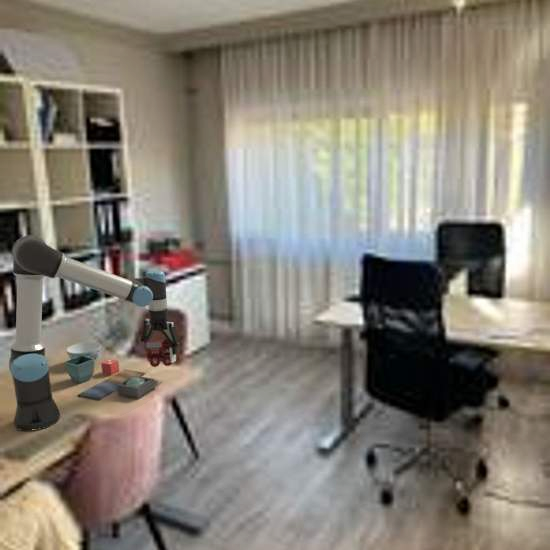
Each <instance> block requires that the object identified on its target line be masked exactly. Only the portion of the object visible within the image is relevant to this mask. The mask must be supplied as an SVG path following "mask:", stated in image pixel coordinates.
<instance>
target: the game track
mask: <svg viewBox="0 0 550 550" xmlns="http://www.w3.org/2000/svg"><path fill="white" fill-rule="evenodd" d="M144 374H145V375H146V372H144V371H136V370H132V369H131V370H130V369H124V370H121V371H119V372H117V373H115V374H114V375H112V376H110V377H108V378H106V379H104V380H103V381H101V382H99V383H97V384H95V385H93V386H91V387H89V388H87V389H86V390H84V391H82V392H80V393H78V394H77V397H80V396H83V397H82V398H85V397H86V398H87V399H91V400H97V401H100V400H103V399H105V398H106V397H108V396H110V395H112V394H113V393H115V392H116V391H117V392H118V390H117V384H119V383H121V382H123V381H125V380H126V379H128V378H130V377H132V376H140V377H143V376H145V375H144ZM142 375H143V376H142Z"/></svg>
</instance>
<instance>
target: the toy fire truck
mask: <svg viewBox="0 0 550 550" xmlns="http://www.w3.org/2000/svg"><path fill="white" fill-rule="evenodd" d="M144 347H146V348H147V351H146V358H147V361H148V362H149V364H150V365H149V366H151V367H154V368H156V367H159V365H161V362H162V364H163V366H165V367H169V366H171V365H172V364H173V363H171V360H170V347H171V345H170V344H169V342H168V340H167V338H165V339H164V340H162V339H154V340H153V339H151V341H146V342H145V343H144ZM177 359H178V353H177V354H176V360H177Z"/></svg>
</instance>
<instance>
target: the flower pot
mask: <svg viewBox="0 0 550 550" xmlns="http://www.w3.org/2000/svg"><path fill="white" fill-rule="evenodd" d="M64 365H65V369H66V372H67V374H68V376H69V377H70V379H71V380H72V381H73V382H77V383H79V384H81V383H84V382H87V381H89V380H91V379H92V377H93V375H94V372H95V361H94V359H93V358H89V357H86V356H79V357H76V358H73V359H69V360H66V361H64Z"/></svg>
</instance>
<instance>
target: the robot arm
mask: <svg viewBox="0 0 550 550" xmlns="http://www.w3.org/2000/svg"><path fill="white" fill-rule="evenodd" d="M11 255H12V258H13V259H12V260H13V261H12V274H13V275H14V276H15V277H16V278H17V282H16V283H17V284H16V285H17V287H16V317H15V318H16V322H15V341H14V343H13V344H11V346H10V357H9V361H8V367H9V371H10V373H11V378H12V382H13V386H14V393H15V399H16V400H15V401H16V410H15V415H14V419H13V424H14V427H16V428H18V429H21V430H20V431H22V430H32V429H39V428H43V427H46V428H48V427H47V426H49V427H51V426H52V425H51V424H53V425H55V424H56V423H58V422H59V421H60V419H61V414H60V410H59V407H58V405H57V404H56V402H55V400H54V399H53V393H52V385H51V379H50V372H49V371H50V370H49V367H50V366H49V363H48V360H47V357H46V354H45V353H46V345H45V344H44V343H43V342H42V318H43V316H42V315H43V313H42V312H43V291H44V290H43V289H44V288H43V287H44V286H43V285H44V278H45V277H48V278H51V279H55V278H60V279H62V280H64V281H65V280H66V281H67V282H71V283H74V284H78V285H80V286H83V287H86V288H89V289H92V290H95V291H98V292H101V293H103V294H106V295H109V296H113V297H115V298H118V300H124V301H127V302H129V303H132V304H134V305H135V306H136V307H141V308H142V307H143V308H144V307H148V318H146V319H144V320H143V327H142V332H141V337H140V342H142V343H144V344H145V342H146V341H151V340H153V336H154V335H155V332H157V331H158V332H161V334H163V335H164V336H165V339H167V340H168V342H169V344H170V345H171V347H170V360H171V363H172V364H173V363H175V362H177V359H176V354H177V355H178V350H177V349H178V348H177V347H178V346H180V345H181V340H180V338H179V335H178V332H177V329H176V325H175V324H176V322H175V321H171V322H170V321H169V320H168V316H169V313H168V312H169V311H168V308H167V307H168V299H167V280H166V275H165V272H164V271H163V270H160V269H157V270H156V269H153V270H148V271H146V272H145V276H143V277H137V278H128V279H127V278H124V277H122V276H118V275H116V274H113V273H110V272H108V271H105V270H103V269H100V268H97V267H95V266H91V265H89V264H86V263H83V262H81V261H78V260H76V259H72V258H70V257H67V256H66V254H65V253H64V252H61V251H59V250H57V249H55V248H53V247H52V246H50V245H48V244H47V243H46V242H45V241H44V240H43V239H42V238H41V237H39V236H36V235H35V236H34V235H25V236H22V237H20V238H19V239H17V240H16V241H15V243H14V244H13V246H12V248H11ZM150 326H151V327H150ZM144 347H145V346H144ZM145 351H146V352H147V348H146V347H145ZM54 423H55V424H54ZM50 425H51V426H50ZM16 428H15V429H16ZM18 429H17V430H18ZM43 429H44V428H43ZM39 430H40V429H39Z"/></svg>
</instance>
